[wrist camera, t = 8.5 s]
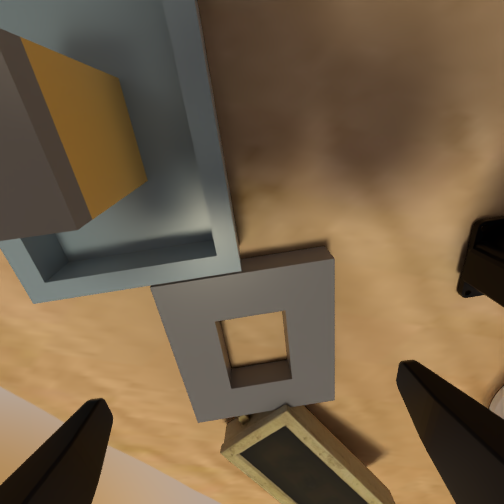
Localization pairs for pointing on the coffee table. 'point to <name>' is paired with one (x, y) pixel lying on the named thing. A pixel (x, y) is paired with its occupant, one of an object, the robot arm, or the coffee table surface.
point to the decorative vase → (498, 403)
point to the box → (299, 459)
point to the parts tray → (150, 147)
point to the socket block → (248, 304)
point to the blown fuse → (60, 141)
